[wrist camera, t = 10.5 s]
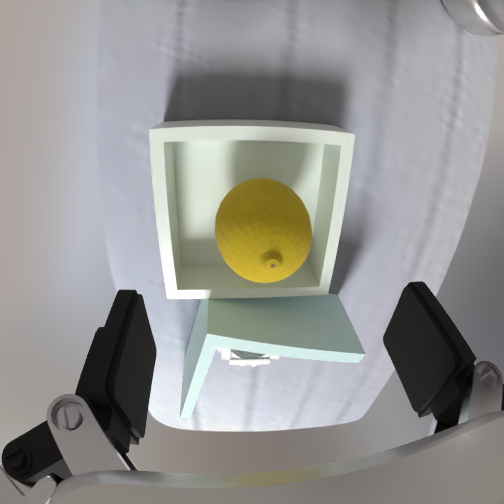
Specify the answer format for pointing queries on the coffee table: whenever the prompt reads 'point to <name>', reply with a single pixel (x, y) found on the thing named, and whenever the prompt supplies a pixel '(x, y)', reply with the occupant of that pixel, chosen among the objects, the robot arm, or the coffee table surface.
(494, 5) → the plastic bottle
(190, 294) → the bin
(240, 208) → the lemon
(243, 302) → the l-shaped corner panel
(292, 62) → the coffee table surface
